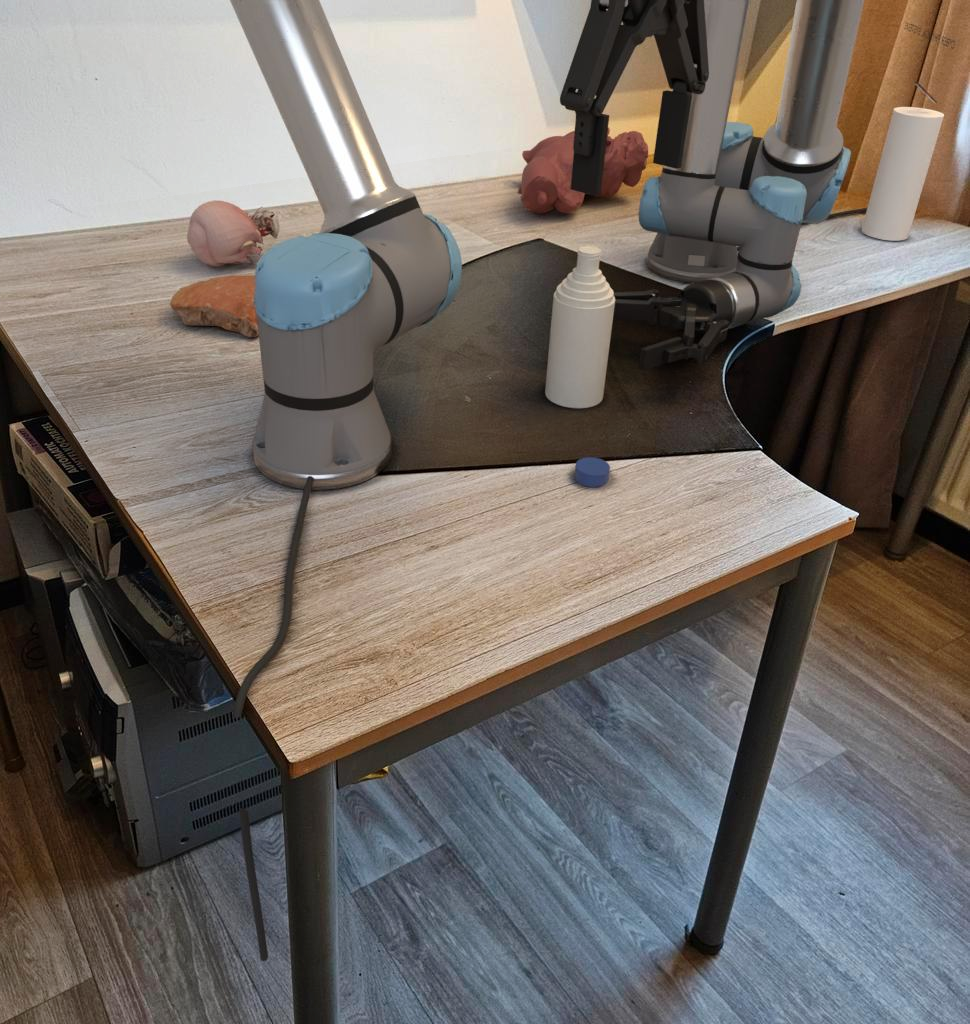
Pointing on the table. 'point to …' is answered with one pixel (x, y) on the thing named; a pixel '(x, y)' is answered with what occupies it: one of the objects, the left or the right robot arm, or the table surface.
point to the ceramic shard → (219, 304)
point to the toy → (228, 232)
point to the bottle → (580, 334)
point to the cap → (592, 472)
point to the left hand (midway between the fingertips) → (628, 178)
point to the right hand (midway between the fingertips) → (603, 340)
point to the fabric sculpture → (553, 171)
